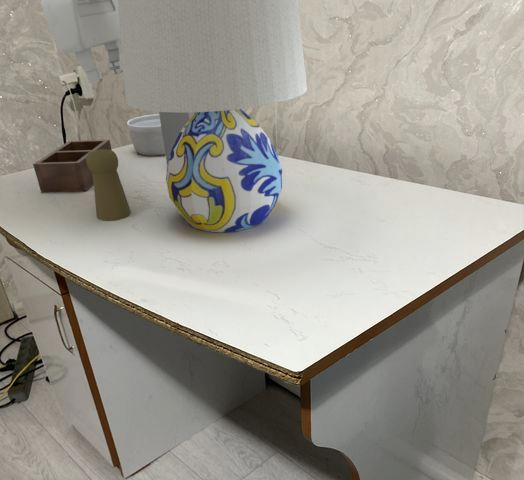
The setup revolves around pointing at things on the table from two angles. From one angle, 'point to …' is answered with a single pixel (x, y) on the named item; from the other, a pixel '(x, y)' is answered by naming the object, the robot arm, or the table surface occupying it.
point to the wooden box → (68, 167)
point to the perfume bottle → (172, 128)
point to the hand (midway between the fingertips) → (107, 78)
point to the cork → (107, 185)
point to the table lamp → (215, 97)
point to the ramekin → (147, 135)
